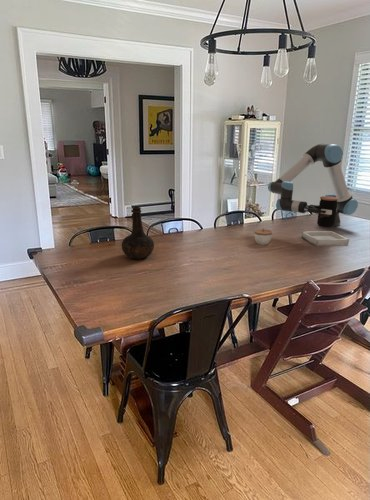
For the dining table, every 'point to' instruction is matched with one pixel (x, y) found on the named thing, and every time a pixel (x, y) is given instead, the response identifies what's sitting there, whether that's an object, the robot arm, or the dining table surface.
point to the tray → (325, 238)
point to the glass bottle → (137, 239)
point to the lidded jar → (263, 236)
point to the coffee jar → (327, 204)
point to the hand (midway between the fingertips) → (334, 211)
